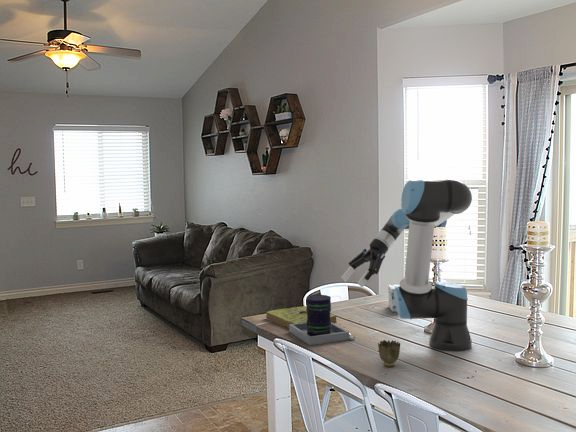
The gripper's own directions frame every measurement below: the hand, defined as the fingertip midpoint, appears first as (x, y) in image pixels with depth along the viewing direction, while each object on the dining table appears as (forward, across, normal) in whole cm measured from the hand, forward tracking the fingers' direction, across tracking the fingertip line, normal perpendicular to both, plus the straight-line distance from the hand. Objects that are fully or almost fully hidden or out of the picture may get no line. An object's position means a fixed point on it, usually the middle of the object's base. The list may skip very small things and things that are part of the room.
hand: (351, 282), depth 241 cm
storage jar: (+25, -3, -1) cm, 25 cm away
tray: (+26, -2, -2) cm, 26 cm away
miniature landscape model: (+24, +22, -4) cm, 32 cm away
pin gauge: (+18, -9, -8) cm, 21 cm away
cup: (+22, -45, -6) cm, 50 cm away
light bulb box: (-11, +19, -39) cm, 45 cm away
